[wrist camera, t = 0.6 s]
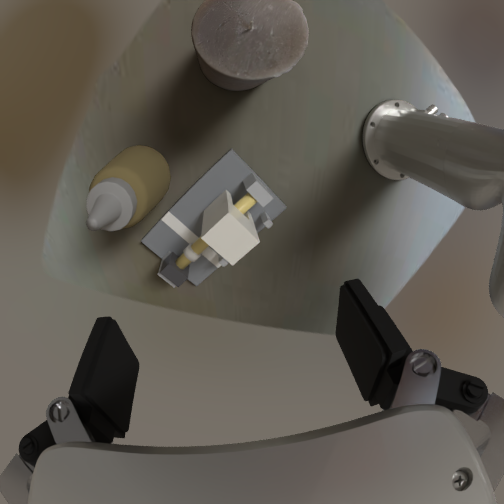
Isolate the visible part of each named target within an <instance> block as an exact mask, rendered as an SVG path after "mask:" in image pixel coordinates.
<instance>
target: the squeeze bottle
mask: <svg viewBox="0 0 504 504" xmlns="http://www.w3.org/2000/svg"><path fill="white" fill-rule="evenodd" d="M170 179H171V176H170V170H169V165H168V163H167V162H166V160H165V159H164V157H163V156H162V154H160V153H159V152H157V151H156V150H154V149H153V148H151V147H147V146H141V145H137V146H132V147H129V148H126V149H125V150H123V151H122V152H121V153H119V154H118V155H117V156H116V157H115V158H113V159H112V160H111V161H110V162H109V163H108V164H107V165H106V166H105V167H104V168H102V169H101V170H100V171H99V172H98V173H97V174H96V175H95V177H94V179H93V181H92V183H91V185H90V188H89V194H88V197H87V203H86V208H87V212H88V215H89V217H88V219H87V221H86V225H87V227H88V228H89V229H90V230H91V231H96V230H98V229H100V228H101V229H102V230H107V231H116V230H120V229H124V228H129V227H132V226H134V225H135V224H137V223H138V222H140V221H141V220H142V219H143V218H144V217H145V216H146V215H147V214H148V213H149V212H150V211H151V210H152V209H153V208H154V207H155V206H156V205H157V204H158V203H159V202H160V201H161V200H162V198H163V197H164V195H165V194H166V192H167V191H168V189H169V184H170Z"/></svg>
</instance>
